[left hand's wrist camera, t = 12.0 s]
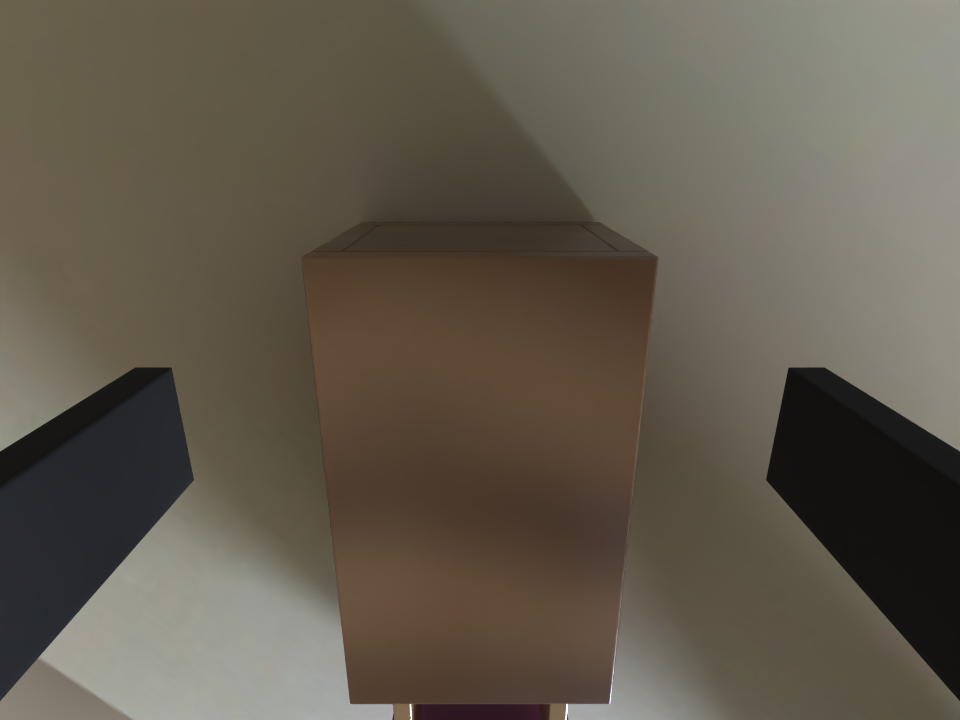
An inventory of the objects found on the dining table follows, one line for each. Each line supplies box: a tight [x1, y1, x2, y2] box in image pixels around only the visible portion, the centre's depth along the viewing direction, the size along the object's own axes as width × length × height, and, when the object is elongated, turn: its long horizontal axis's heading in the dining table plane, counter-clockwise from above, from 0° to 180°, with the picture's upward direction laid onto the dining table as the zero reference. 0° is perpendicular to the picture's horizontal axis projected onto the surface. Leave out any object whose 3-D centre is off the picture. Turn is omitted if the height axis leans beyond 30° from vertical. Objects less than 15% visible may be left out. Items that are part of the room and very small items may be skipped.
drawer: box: [393, 704, 568, 720], centre depth 28 cm, size 23×10×7 cm, turn 0°
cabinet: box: [302, 222, 658, 704], centre depth 24 cm, size 18×11×9 cm, turn 0°
